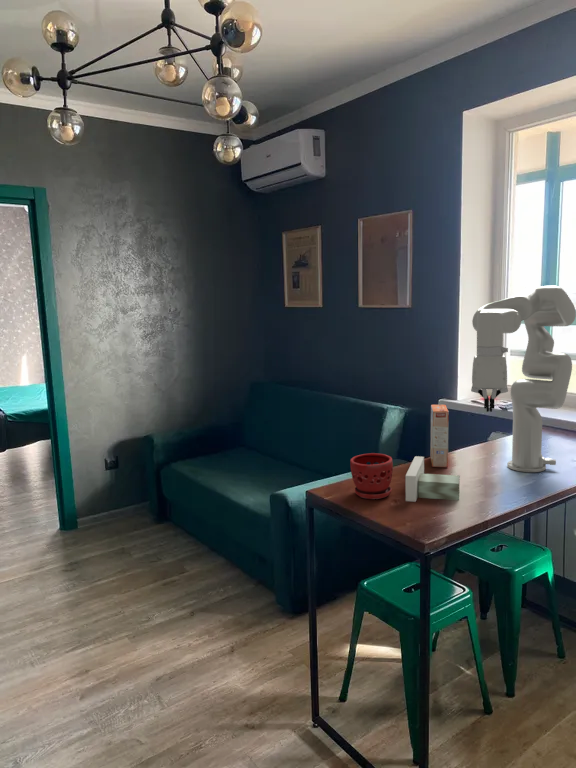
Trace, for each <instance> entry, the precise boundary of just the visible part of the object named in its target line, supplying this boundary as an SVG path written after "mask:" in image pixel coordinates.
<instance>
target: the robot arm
mask: <svg viewBox="0 0 576 768" xmlns="http://www.w3.org/2000/svg"><path fill="white" fill-rule="evenodd" d="M575 320H576V307H575V305H574V303H573V302H572V300H571V298H570V296H569V294H568V293H567V292H566V291H565V290H564V289H563V288H562V287H560V286H558V285H544V286H543V285H542V286H529V287H525V289H523V290H521V291H520V292H518V293H517V294H515V295H514V296H511V297H507V298H503V299H501V300H497V301H493V302H490V303H487V304H485V305H483V306H481V307H480V308H478V309H477V310H476V312H475V313H474V315H473V317H472V320H471V321H472V323H471V324H472V328H473V329H474V330H475V331H476V355H474V356H473V362H472V373H471V382H472V383H471V384H472V386H471V389H470V390H471V392H472V393H474V394H475V393H476V394H479V395H480V396H481V397H482V399H483V408H484V409H485V410H486V413H487V412H490V413H491V412H493V410H494V409H495V399H496V398H497V397H498V396H499V395H501V394H504V393H508V392H509V388H508V366H507V358H506V355H503V354H505V353H509V348H508V347H504V346H503V345H504V342H503V341H504V334H513V333H515V332H517V331H518V330H519V329H520V327H521V324H522V322H524V326H525V330H526V332H527V337H528V338H527V339H528V340H527V341H528V342H527V346H526V350H525V353H524V358H523V360H522V367H521V372H522V374H523V376H525V377H526V378H524V379H523V378H522V379H518V380H515V381H513V383H512V384H511V387H510V397H511V405H512V441H511V442H512V445H511V446H512V449H511V450H512V453H511V460H509V461H508V462H506V463H507V464H506V465H507V468H508V469H510V470H513V471H516V472H521V473H540V472H544V471H545V470H546V468H547V466H546V465H551V466H557V464H556V463H557V460H556V459H553V458H551V457H550V458H549V457H544V456H543V454H542V445H543V444H542V443H543V442H542V441H543V440H542V439H543V419H542V415H541V413H540V412H539V410H538V409H537V408H539V409H550V410H557V409H560V408H562V407H563V405H564V403H565V400H566V397H567V393H568V389H569V384H570V381H571V377H572V370H573V361H572V358H571V357H570V355H568V354H567V353H565V352H557V351H554V352H553V350H554V346H555V341H554V340H555V339H554V338H553V336H552V334H550V332H549V331H548V330H547V329H546V328H545V327H569V326H571V325H572V324H573V323H574V322H575ZM487 390H491V395H490V397H489V395H488V392H487Z"/></svg>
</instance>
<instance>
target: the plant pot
mask: <svg viewBox="0 0 576 768" xmlns="http://www.w3.org/2000/svg"><path fill="white" fill-rule="evenodd" d="M349 462H350V464H349V465H350V474H351V478H352V481H353V484H354V486H355V488H354V493H355V494H356V495H357V496H358V497H359V498H362V499H367V500H375V499H376V500H378V499H379V500H380V499H385V498H386V497H388V496H390V494H391V493H392V489H393V488H392V487H391V486H390V485H391V484H392V480H393V470H394V463H393V458H392V456H390V455H387V454H385V453H375V452H371V453H363V454H359V455H355V456H353V457H352V458H350V461H349ZM368 463H370V464H368Z"/></svg>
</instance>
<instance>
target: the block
mask: <svg viewBox="0 0 576 768" xmlns="http://www.w3.org/2000/svg"><path fill="white" fill-rule="evenodd" d="M460 476H461V475H455V474H454V475H453V474H451V475H450V474H438V473H437V474H435V473H424V474H420V477H419V481H418V497H417V499H418V498H419V499H420V498H422V499H431V500H433V499H434V500H449V501H460Z"/></svg>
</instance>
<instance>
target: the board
mask: <svg viewBox="0 0 576 768" xmlns="http://www.w3.org/2000/svg"><path fill="white" fill-rule="evenodd" d="M420 474H425V456H419V455H418V456H417V455H416V456H414V458H413V460H412V461H411V463H410V465H409V468H408V470H407V472H406V474H405V502H414V503H416V501H417V499H418V481H419V477H420Z"/></svg>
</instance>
